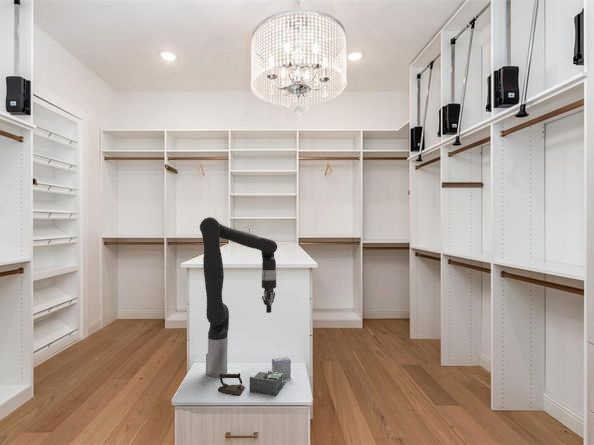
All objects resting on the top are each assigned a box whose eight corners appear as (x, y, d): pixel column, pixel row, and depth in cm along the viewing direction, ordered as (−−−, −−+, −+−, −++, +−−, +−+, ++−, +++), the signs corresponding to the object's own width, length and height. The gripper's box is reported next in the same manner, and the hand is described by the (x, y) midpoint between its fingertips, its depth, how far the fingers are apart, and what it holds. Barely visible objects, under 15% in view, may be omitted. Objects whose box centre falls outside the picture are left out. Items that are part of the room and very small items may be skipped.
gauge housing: (249, 391, 142) (249, 377, 142) (260, 381, 153) (260, 367, 153) (275, 396, 139) (275, 381, 139) (284, 384, 149) (284, 371, 149)
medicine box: (287, 374, 160) (287, 355, 161) (290, 377, 156) (290, 359, 157) (271, 377, 157) (271, 358, 157) (275, 381, 153) (275, 361, 153)
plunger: (260, 387, 144) (260, 376, 144) (268, 378, 152) (268, 368, 152) (276, 389, 142) (276, 378, 142) (283, 381, 150) (283, 370, 150)
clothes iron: (241, 397, 139) (235, 374, 138) (216, 402, 140) (210, 379, 140) (246, 387, 146) (240, 366, 145) (222, 392, 147) (216, 370, 147)
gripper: (267, 276, 179) (267, 309, 179) (257, 279, 166) (256, 314, 166) (280, 277, 177) (280, 310, 176) (270, 280, 164) (270, 316, 164)
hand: (268, 312), depth 171 cm, fingers closed
